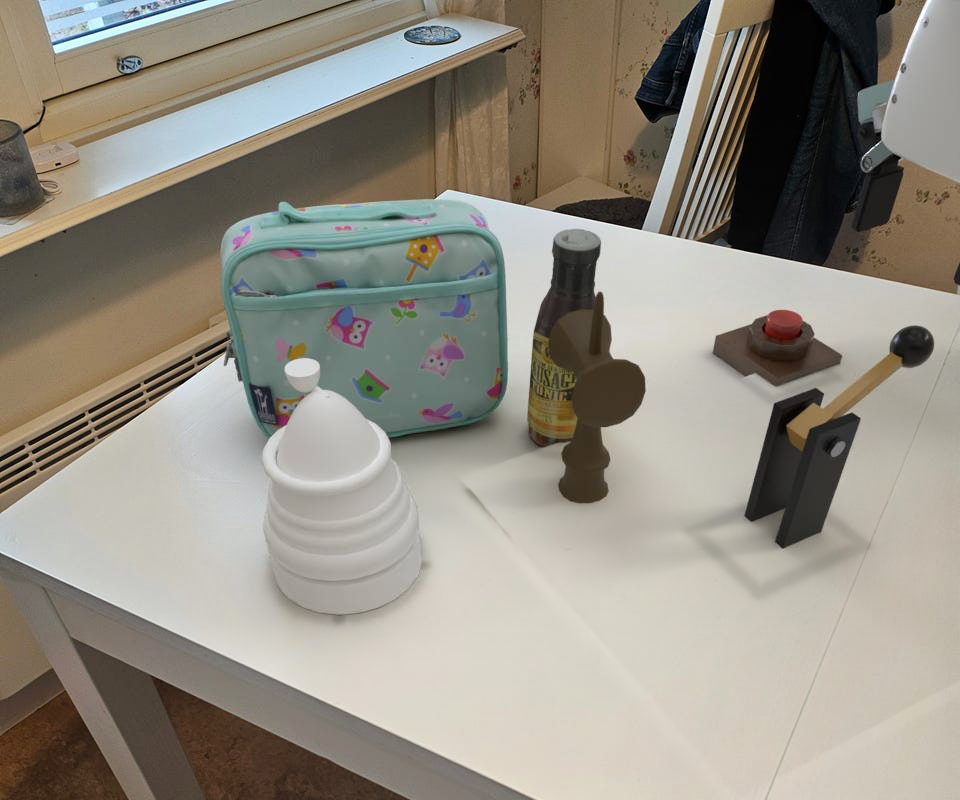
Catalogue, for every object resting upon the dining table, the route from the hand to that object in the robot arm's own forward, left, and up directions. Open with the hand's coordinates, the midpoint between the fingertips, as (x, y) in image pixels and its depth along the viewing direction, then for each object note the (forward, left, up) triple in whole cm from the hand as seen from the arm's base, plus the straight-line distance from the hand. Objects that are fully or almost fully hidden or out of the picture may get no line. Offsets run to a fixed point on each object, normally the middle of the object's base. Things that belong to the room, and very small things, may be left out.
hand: (918, 252), depth 65 cm
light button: (-4, -24, -20) cm, 31 cm away
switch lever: (+1, +1, -12) cm, 12 cm away
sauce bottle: (+22, -15, -24) cm, 36 cm away
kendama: (+22, -5, -24) cm, 33 cm away
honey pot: (+44, 0, -24) cm, 50 cm away
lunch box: (+40, -21, -24) cm, 51 cm away
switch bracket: (+6, +3, -23) cm, 24 cm away
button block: (-4, -24, -23) cm, 34 cm away
